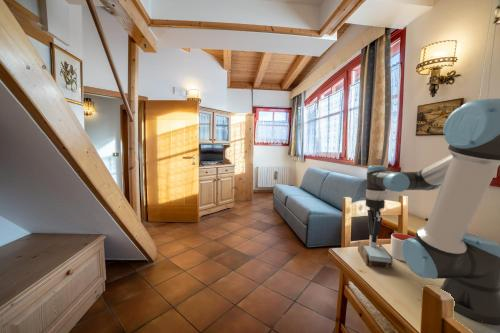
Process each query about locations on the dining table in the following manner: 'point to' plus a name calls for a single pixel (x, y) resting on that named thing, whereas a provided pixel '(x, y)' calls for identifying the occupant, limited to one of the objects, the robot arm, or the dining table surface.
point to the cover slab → (377, 254)
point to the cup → (398, 245)
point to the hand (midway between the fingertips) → (372, 247)
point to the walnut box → (373, 263)
